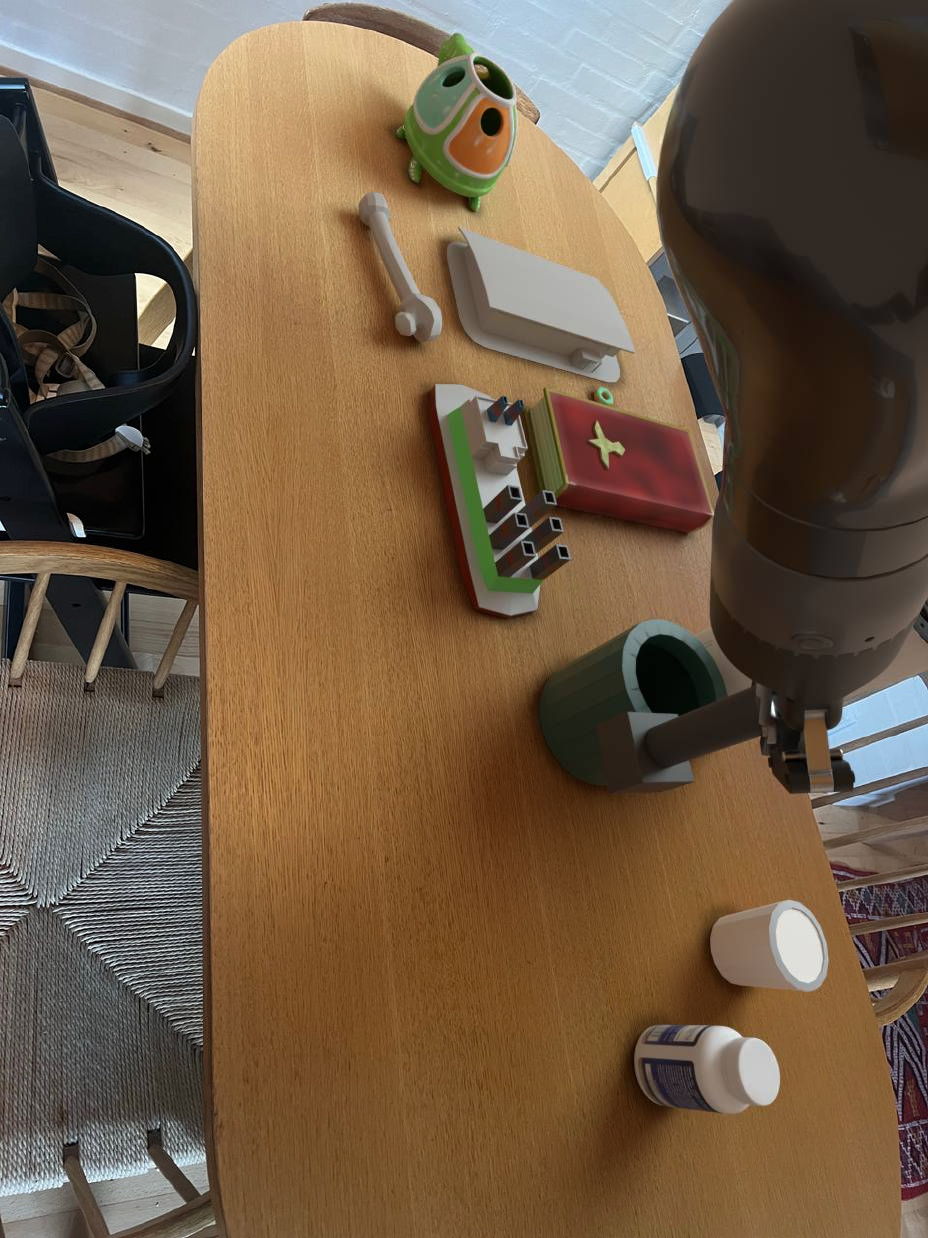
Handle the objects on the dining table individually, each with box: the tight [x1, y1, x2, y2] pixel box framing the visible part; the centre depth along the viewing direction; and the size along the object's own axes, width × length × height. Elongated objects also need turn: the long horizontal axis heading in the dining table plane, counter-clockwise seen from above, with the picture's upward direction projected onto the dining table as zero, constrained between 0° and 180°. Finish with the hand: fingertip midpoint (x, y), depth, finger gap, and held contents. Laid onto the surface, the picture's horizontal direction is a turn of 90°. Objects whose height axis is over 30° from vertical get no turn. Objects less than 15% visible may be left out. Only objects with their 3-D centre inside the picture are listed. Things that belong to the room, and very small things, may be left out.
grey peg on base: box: [597, 686, 763, 795], centre depth 44 cm, size 4×4×14 cm
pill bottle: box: [633, 1024, 781, 1115], centre depth 55 cm, size 5×5×10 cm
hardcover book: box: [523, 386, 715, 534], centre depth 84 cm, size 12×21×4 cm, turn 99°
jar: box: [539, 618, 728, 787], centre depth 65 cm, size 11×11×11 cm
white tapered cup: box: [709, 899, 830, 993], centre depth 65 cm, size 7×7×7 cm
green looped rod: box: [593, 386, 614, 407], centre depth 91 cm, size 2×10×1 cm, turn 79°
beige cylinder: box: [693, 598, 928, 700], centre depth 67 cm, size 11×10×26 cm
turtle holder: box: [396, 32, 519, 212], centre depth 89 cm, size 12×18×12 cm
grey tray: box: [446, 226, 636, 384], centre depth 89 cm, size 15×23×4 cm, turn 101°
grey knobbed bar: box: [357, 191, 443, 343], centre depth 78 cm, size 18×5×4 cm, turn 18°
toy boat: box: [428, 383, 572, 619], centre depth 71 cm, size 8×25×8 cm, turn 12°
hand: (776, 720), depth 43 cm, fingers closed on grey peg on base, 2 cm apart
